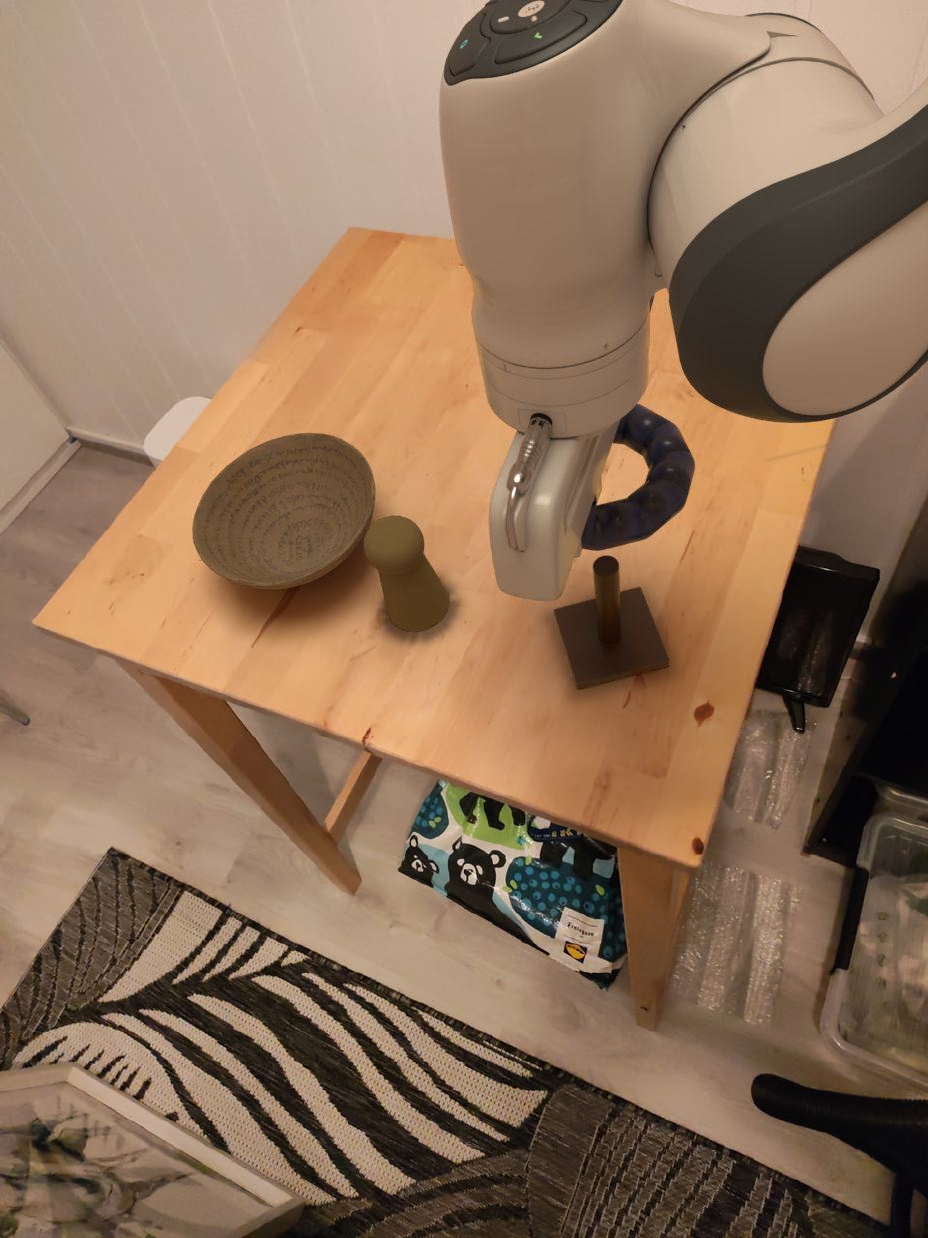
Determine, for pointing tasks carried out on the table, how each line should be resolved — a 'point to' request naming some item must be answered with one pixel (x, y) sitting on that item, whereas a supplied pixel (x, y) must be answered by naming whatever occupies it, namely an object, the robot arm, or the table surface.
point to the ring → (656, 495)
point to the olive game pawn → (405, 574)
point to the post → (610, 631)
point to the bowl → (285, 511)
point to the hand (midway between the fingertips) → (578, 523)
